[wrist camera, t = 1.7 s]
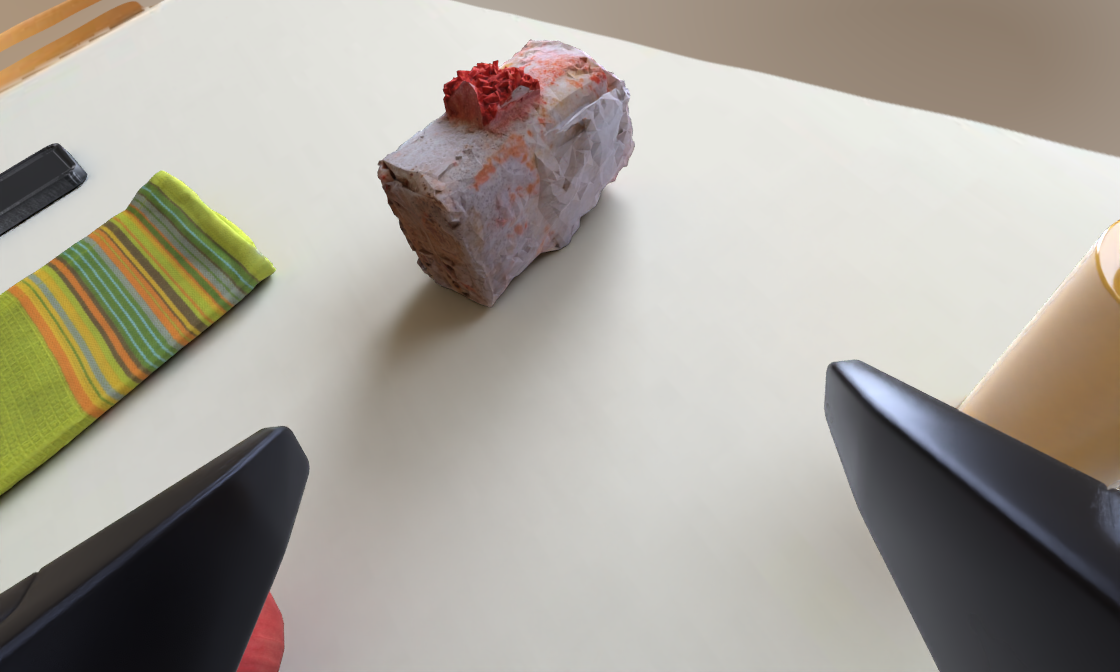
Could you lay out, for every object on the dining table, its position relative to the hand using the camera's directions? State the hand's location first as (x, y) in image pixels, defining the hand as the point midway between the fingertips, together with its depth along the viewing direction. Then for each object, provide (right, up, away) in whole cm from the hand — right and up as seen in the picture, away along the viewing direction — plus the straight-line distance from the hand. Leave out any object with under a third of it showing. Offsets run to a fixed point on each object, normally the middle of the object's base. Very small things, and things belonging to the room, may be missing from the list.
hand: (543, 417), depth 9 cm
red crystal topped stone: (-1, +8, +25) cm, 27 cm away
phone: (-49, +12, +39) cm, 64 cm away
